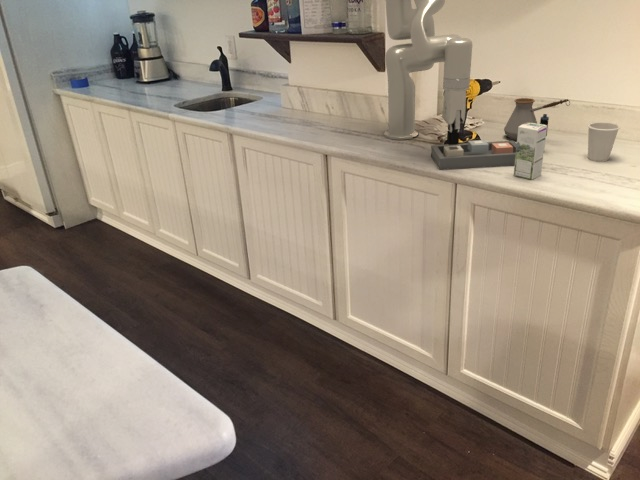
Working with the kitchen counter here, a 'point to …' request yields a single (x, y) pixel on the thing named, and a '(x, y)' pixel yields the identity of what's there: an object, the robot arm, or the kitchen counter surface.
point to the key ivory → (453, 151)
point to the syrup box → (530, 150)
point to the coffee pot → (524, 115)
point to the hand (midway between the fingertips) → (452, 143)
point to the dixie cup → (601, 140)
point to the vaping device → (544, 121)
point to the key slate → (478, 146)
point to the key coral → (501, 148)
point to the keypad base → (472, 157)
